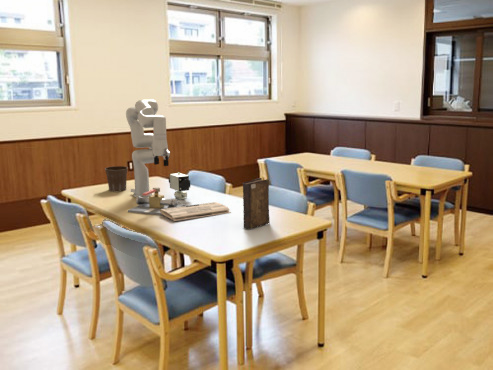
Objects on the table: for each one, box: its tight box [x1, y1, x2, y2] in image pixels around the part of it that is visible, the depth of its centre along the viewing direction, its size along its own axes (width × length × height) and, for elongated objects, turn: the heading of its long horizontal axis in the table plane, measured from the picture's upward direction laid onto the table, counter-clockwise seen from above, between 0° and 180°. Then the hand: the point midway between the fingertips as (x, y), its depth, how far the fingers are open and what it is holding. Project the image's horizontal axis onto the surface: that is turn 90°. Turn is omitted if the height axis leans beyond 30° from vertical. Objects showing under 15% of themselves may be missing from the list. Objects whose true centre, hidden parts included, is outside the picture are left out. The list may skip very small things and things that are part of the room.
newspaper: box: [160, 201, 231, 222], centre depth 284 cm, size 37×19×3 cm, turn 124°
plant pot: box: [104, 165, 129, 192], centre depth 350 cm, size 16×16×16 cm
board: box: [127, 203, 186, 216], centre depth 295 cm, size 26×25×1 cm
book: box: [242, 177, 270, 230], centre depth 257 cm, size 17×7×25 cm, turn 133°
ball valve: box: [168, 171, 191, 200], centre depth 321 cm, size 18×8×18 cm, turn 36°
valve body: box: [135, 192, 179, 209], centre depth 295 cm, size 25×6×9 cm, turn 71°
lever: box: [143, 187, 161, 196], centre depth 288 cm, size 16×4×2 cm, turn 161°
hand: (161, 165), depth 293 cm, fingers open, 9 cm apart
